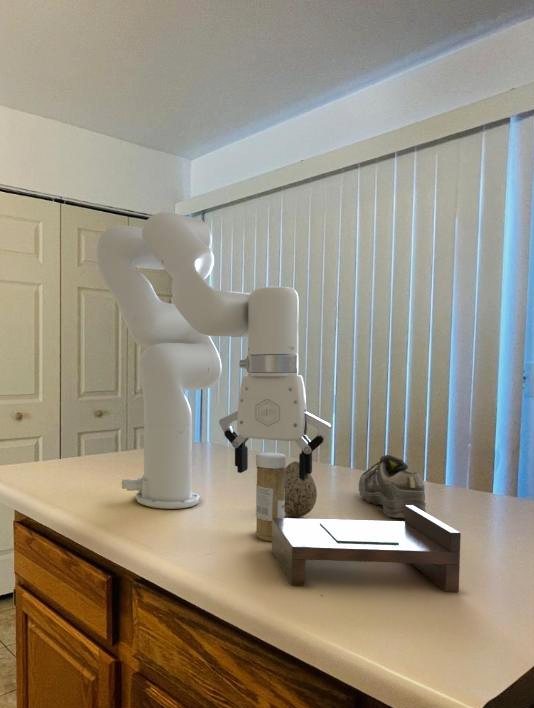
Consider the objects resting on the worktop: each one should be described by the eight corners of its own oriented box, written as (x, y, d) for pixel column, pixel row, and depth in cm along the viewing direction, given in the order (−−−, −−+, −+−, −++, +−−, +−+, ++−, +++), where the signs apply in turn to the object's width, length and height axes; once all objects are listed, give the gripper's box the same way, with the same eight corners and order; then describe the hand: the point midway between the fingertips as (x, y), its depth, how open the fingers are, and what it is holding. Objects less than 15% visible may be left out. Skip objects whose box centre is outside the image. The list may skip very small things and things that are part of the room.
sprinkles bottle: (290, 540, 82) (291, 456, 81) (263, 543, 81) (265, 457, 80) (274, 531, 86) (276, 450, 86) (249, 533, 85) (250, 452, 85)
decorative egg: (307, 524, 90) (308, 467, 89) (268, 516, 94) (268, 462, 94) (321, 515, 95) (323, 461, 95) (283, 508, 100) (284, 456, 99)
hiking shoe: (400, 482, 111) (374, 434, 110) (453, 524, 90) (422, 465, 89) (359, 502, 112) (333, 455, 111) (403, 547, 92) (371, 489, 91)
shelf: (291, 585, 66) (292, 527, 65) (271, 550, 78) (272, 501, 77) (459, 592, 64) (461, 532, 64) (411, 555, 76) (413, 505, 76)
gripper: (211, 367, 84) (211, 473, 84) (326, 366, 74) (325, 485, 75) (228, 366, 90) (227, 465, 91) (335, 366, 81) (334, 476, 81)
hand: (272, 474), depth 83 cm, fingers open, 9 cm apart
